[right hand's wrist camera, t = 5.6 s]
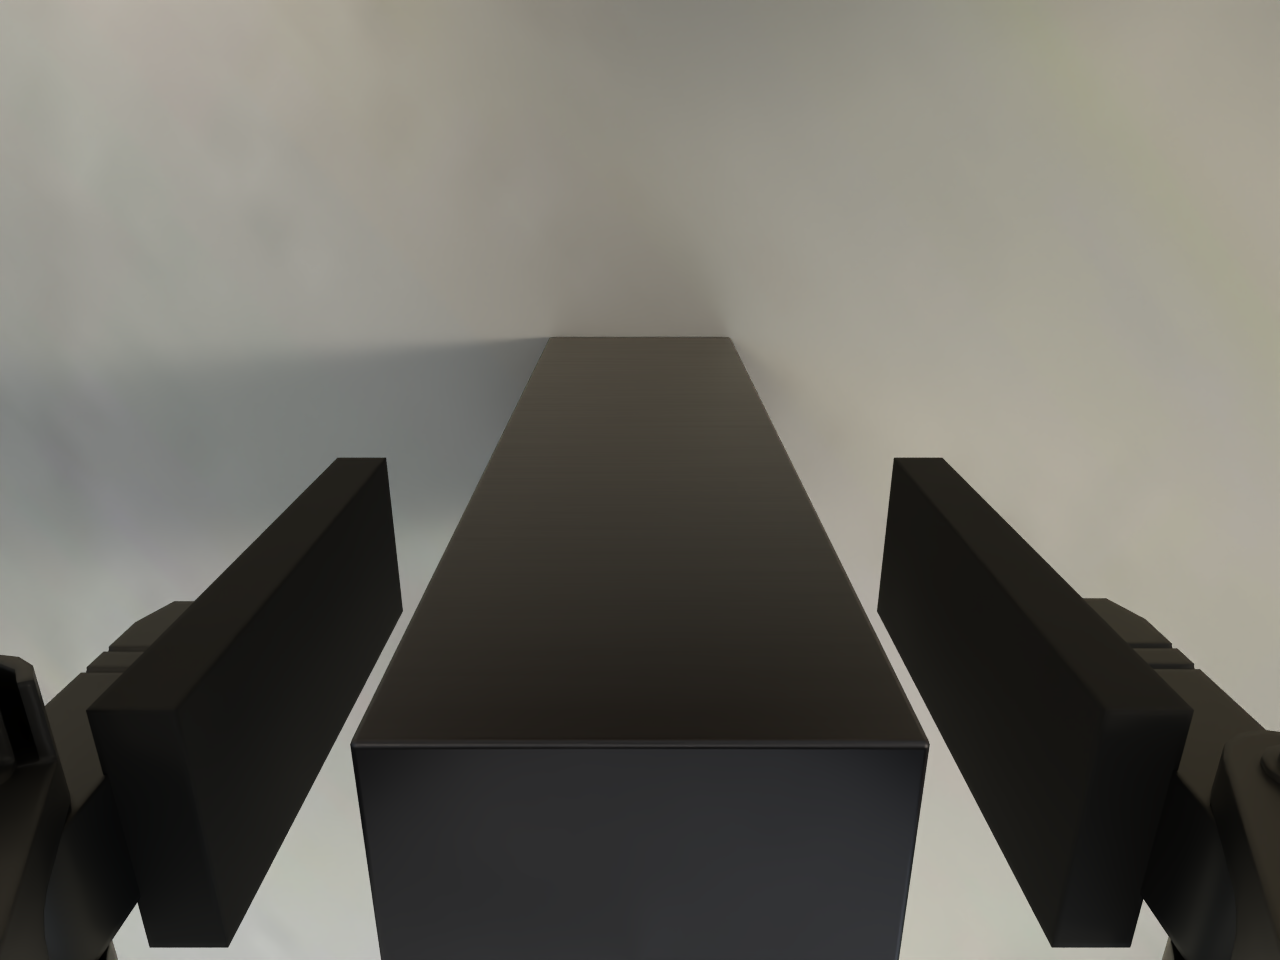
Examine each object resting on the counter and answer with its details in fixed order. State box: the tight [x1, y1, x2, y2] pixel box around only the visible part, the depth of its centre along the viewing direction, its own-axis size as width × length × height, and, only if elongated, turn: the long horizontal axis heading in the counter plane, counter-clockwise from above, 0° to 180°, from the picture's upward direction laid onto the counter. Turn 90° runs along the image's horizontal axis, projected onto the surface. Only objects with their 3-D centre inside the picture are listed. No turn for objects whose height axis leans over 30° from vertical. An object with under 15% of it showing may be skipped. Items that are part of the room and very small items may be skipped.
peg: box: [350, 337, 930, 960], centre depth 13 cm, size 4×4×14 cm
